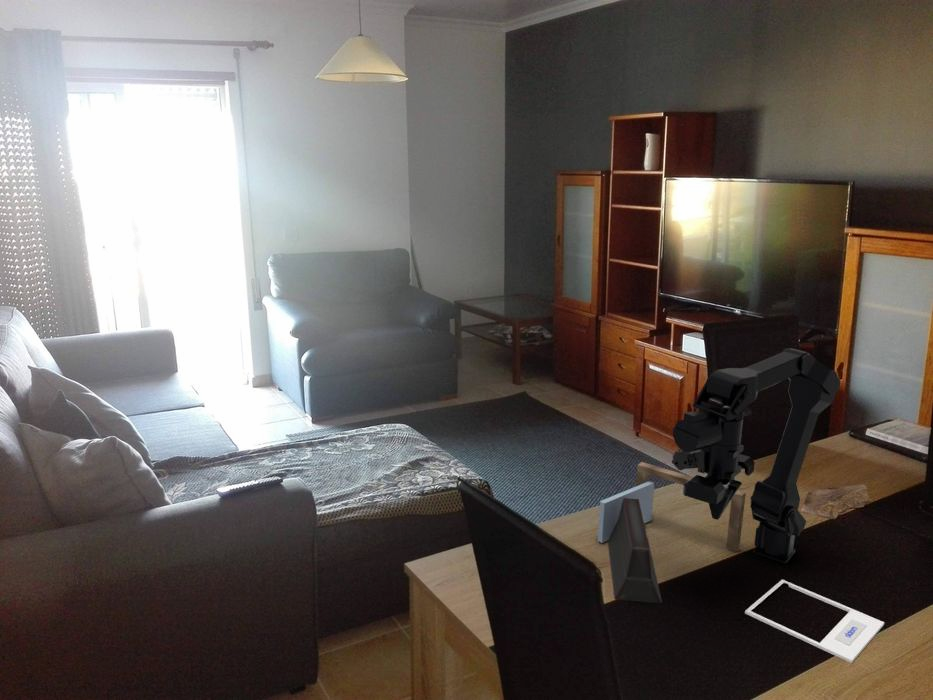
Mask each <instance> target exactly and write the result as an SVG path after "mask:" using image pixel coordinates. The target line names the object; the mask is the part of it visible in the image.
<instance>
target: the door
mask: <svg viewBox="0 0 933 700" xmlns="http://www.w3.org/2000/svg"><path fill="white" fill-rule="evenodd" d="M654 492H655V482H654V481H652V480H649V481H648V482H646V483H643V484H641V485H639V486H636V485H635V486H634V487H632V488H629V489H627V490H624V491H622V492H619V493H617V494H615V495H612V496H609V497H608V498H607V497H606V498H604V499H603V500H600V501H599V512H598V513H597V516H596V517H597V519H598V528H597V529H598V530H597V541H598V542H599V543H601V544H603V543H605V542H608V540H609V538H610V536H611V534H612V532H613V530H614V527H615V525H616V523H617V522H618V518H619V514H620V510H621V506H622V502H623V498H630V499H639V503H640V508H641V512H642V517H643V521H644V525H645V524H646V523H649V522H650V521H652V516H653V503H654Z"/></svg>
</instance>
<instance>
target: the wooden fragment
mask: <svg viewBox="0 0 933 700" xmlns="http://www.w3.org/2000/svg"><path fill="white" fill-rule="evenodd" d="M868 502H869V503H870V502H872V500H871V497H870V495H869V492H868V487H867V486H866V485H865V484H856V485H855V484H854V485H847V486H839V487H829V488H823V489H822V488H821V489H818V490H812V491H810V492H808V493H807V495H806V498H805V500H804V502H803V505H802V507H801V509H800V514H806V515H810V516H812V517H820V518H825V519H833V520H836V519H837V518H838V516H840V515H841V514H842V513H844V512H847V510H849V509H859V508H864V507H865V505H866V504H867V503H868Z"/></svg>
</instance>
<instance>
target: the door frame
mask: <svg viewBox="0 0 933 700" xmlns="http://www.w3.org/2000/svg"><path fill="white" fill-rule="evenodd" d="M636 467H637V468H636V470H637V471H636V480H635V481H636V482H635V483H636V484H635V487H636V486H639V485H641V484H643V483H646V482H648V481H650V476H652V477H655V478H659V479H662V480H665V481H669V482H671V483H675V484H678V485H682V486H684V484H685V483H686V482H687V481H689V480H690V479H691V478H693V477H694V476H691V475H687V474H684V473H681V472H679V471H678V472H677V471H674V470H670V469H667V468H664V467H660V466H657V465H654V464H649V463H648V462H647V463H646V462H645V461H644V462H643V461H641V462H639V463H638V464H637V466H636ZM746 494H747V493H746V492H744V491H741V490H739V489H738V490H737V492H736V493H735V495H734V496H733V498H732V499H731V501H730V509H729V520H728V527H727V528H728V529H727V537H726V546H725V548H726V550H728V551H732V552H734V553H736V552H737V551H738V550H739V549H740V546H741V545H740V544H741V535H742V527H743V521H744V512H745V503H746V502H745V501H746Z"/></svg>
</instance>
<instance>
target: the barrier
mask: <svg viewBox="0 0 933 700" xmlns="http://www.w3.org/2000/svg"><path fill="white" fill-rule="evenodd" d="M607 547H608V555H609V565H610V573H611V574H610V575H611V581H612V582H611V583H612V590H613V597H614V600H616V601H617V600H618V601H632V602H642V603H655V604H656V603H657V604H662V597H661V592H660V586H659V582H658V578H657V574H656V573H657V572H656V569H655V565H654V561H653V556H652V555H653V554H652V551H651V547H650V542H649V538H648V535H647V531H646V527H645V524H644V521H643V517H642V512H641V508H640V503H639V499H630V498H623V502H622V506H621V510H620V514H619V518H618V522H617V523H616V525H615V527H614V530H613V532H612V534H611V536H610V538H609V540H608V541H607Z"/></svg>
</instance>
